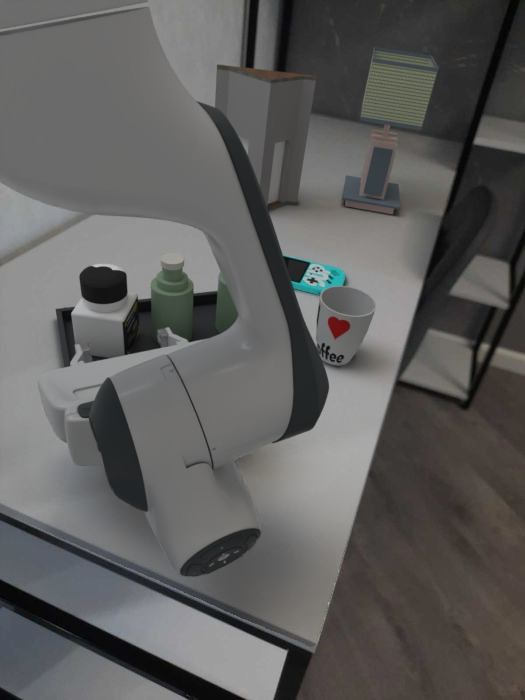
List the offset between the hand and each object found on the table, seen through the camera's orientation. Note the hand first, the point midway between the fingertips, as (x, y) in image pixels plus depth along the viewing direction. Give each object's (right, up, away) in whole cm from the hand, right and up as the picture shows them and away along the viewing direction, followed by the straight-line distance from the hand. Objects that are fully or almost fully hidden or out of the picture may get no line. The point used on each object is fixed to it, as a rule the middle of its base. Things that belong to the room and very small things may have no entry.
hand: (123, 340), depth 61 cm
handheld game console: (+24, +12, +38) cm, 46 cm away
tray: (+3, +1, +18) cm, 19 cm away
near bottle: (+3, +1, +18) cm, 18 cm away
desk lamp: (+44, +37, +73) cm, 93 cm away
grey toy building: (+14, +33, +62) cm, 72 cm away
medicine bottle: (-6, 0, +15) cm, 16 cm away
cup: (+27, -2, +20) cm, 34 cm away
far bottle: (+12, +3, +22) cm, 25 cm away
